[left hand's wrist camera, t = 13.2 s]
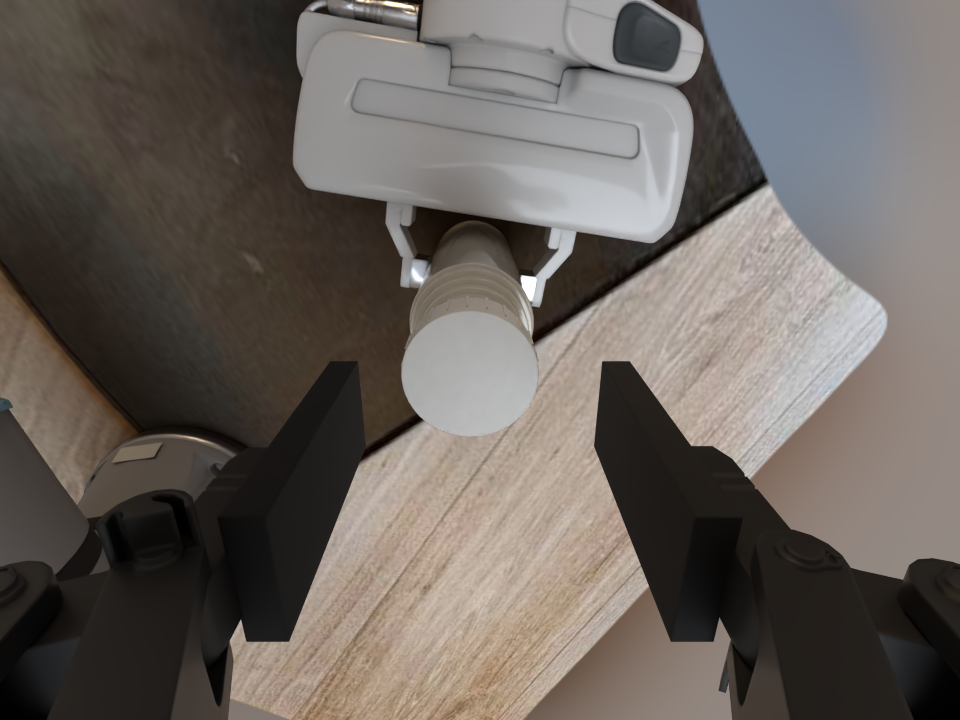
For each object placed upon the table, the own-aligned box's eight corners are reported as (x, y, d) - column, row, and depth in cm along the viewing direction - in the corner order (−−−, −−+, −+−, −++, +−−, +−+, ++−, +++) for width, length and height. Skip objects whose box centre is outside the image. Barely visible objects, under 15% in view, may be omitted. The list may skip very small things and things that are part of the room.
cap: (395, 400, 19) (388, 422, 17) (421, 280, 17) (415, 293, 15) (514, 426, 19) (518, 450, 18) (550, 312, 18) (558, 327, 16)
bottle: (428, 286, 36) (377, 423, 18) (444, 211, 34) (407, 276, 16) (500, 304, 37) (524, 455, 18) (520, 231, 35) (570, 316, 16)
